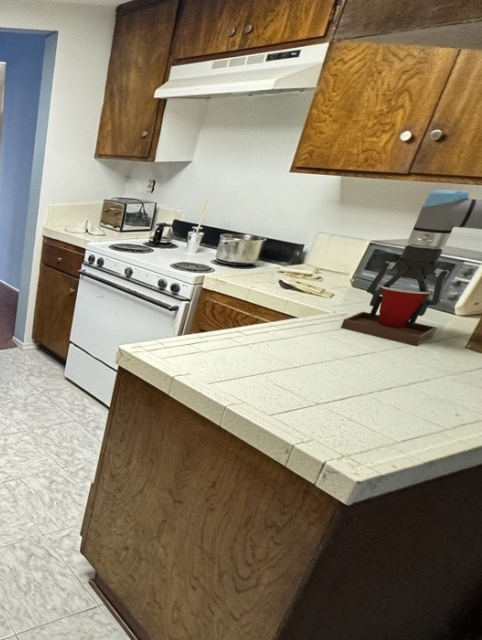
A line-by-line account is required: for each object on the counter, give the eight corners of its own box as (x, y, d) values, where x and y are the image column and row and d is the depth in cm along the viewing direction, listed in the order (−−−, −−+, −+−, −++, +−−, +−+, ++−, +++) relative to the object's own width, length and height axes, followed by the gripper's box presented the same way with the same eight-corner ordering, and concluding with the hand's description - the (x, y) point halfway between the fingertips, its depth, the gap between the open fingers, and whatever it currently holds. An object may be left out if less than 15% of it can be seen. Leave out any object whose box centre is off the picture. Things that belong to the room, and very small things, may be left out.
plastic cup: (393, 320, 148) (410, 283, 143) (425, 332, 138) (444, 293, 133) (356, 318, 149) (372, 281, 144) (386, 330, 139) (403, 291, 134)
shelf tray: (432, 336, 141) (437, 327, 140) (416, 346, 134) (421, 337, 132) (359, 319, 155) (362, 311, 154) (340, 327, 147) (343, 319, 146)
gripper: (371, 241, 140) (342, 313, 149) (475, 254, 124) (436, 333, 133) (380, 239, 144) (351, 309, 153) (482, 251, 128) (443, 329, 137)
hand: (390, 320), depth 143 cm, fingers closed on plastic cup, 8 cm apart
